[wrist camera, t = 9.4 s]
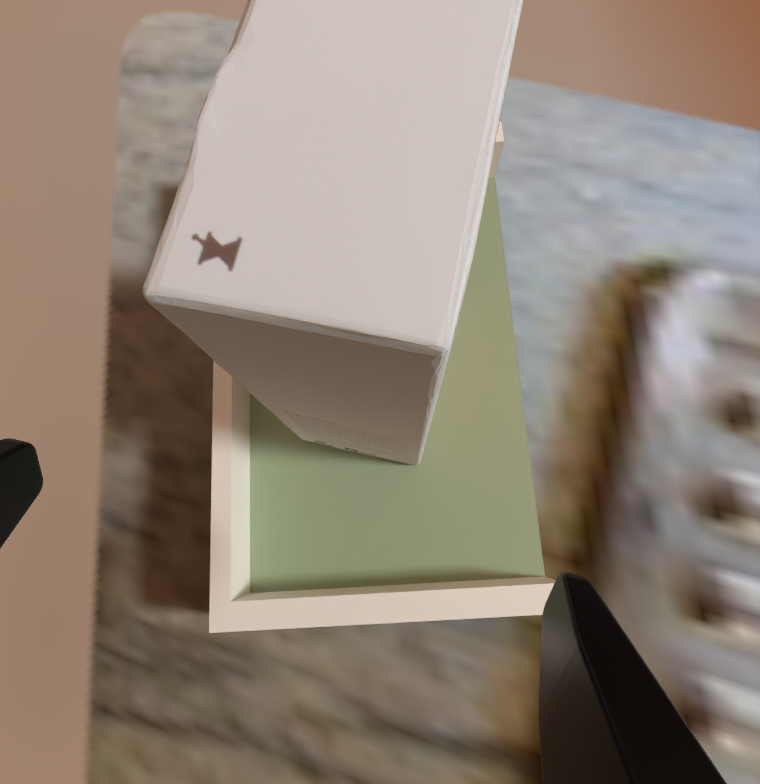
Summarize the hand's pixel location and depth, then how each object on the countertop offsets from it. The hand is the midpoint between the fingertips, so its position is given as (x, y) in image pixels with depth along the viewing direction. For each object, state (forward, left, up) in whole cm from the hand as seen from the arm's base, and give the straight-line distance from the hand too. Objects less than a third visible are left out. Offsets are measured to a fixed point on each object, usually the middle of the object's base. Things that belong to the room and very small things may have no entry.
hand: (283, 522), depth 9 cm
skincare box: (+5, -2, -9) cm, 11 cm away
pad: (+5, -2, -10) cm, 11 cm away
